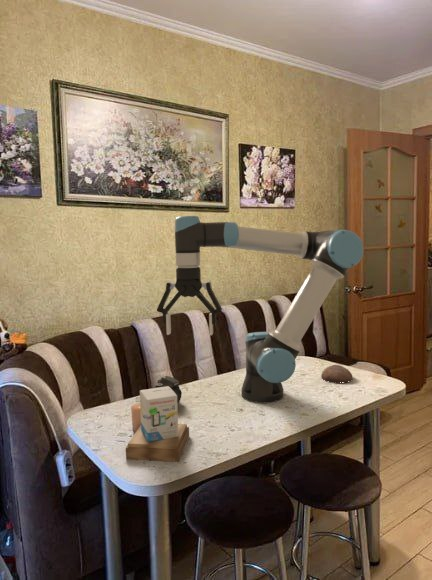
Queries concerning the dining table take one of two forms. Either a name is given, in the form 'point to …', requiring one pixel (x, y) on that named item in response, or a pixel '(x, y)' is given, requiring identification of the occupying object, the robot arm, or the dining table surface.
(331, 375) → the decorative stone
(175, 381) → the camera
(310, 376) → the dining table surface
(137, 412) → the peach domed cylinder
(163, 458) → the stand
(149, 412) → the ink box
